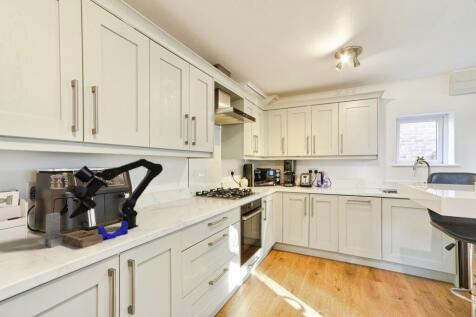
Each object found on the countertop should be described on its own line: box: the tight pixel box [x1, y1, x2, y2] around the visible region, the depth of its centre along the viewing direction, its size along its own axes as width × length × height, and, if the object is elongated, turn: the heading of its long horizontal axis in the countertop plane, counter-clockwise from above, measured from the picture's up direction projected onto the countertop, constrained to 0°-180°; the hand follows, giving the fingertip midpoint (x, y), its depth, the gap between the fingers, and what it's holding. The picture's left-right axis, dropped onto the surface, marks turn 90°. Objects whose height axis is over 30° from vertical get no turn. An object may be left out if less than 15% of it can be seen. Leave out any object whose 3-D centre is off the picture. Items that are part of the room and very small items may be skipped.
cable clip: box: [97, 221, 129, 242], centre depth 104 cm, size 12×4×6 cm, turn 141°
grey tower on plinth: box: [42, 212, 64, 248], centre depth 93 cm, size 7×4×13 cm, turn 63°
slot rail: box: [63, 229, 104, 249], centre depth 97 cm, size 16×8×3 cm, turn 63°
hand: (64, 216), depth 97 cm, fingers open, 9 cm apart
